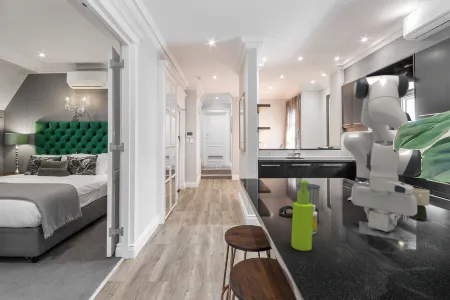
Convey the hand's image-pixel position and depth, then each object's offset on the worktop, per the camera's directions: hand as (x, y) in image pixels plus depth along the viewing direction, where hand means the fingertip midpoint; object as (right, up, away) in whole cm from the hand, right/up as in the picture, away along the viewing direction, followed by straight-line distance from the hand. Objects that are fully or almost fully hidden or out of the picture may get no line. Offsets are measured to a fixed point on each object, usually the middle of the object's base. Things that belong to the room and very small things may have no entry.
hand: (381, 222), depth 90 cm
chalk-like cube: (0, -2, 0) cm, 2 cm away
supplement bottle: (-28, -3, -3) cm, 28 cm away
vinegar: (+28, -4, +33) cm, 43 cm away
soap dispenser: (-35, -3, -16) cm, 38 cm away
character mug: (+27, -4, +17) cm, 32 cm away
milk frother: (-27, -2, +12) cm, 30 cm away
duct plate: (0, -3, 0) cm, 3 cm away
